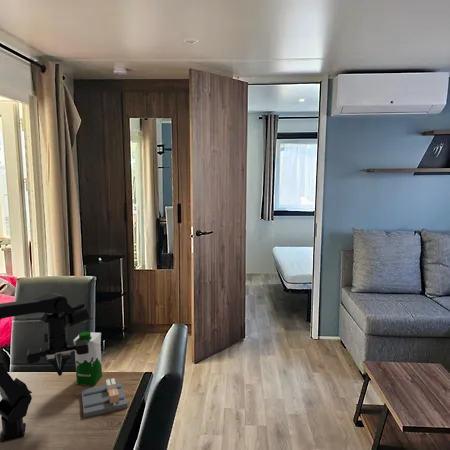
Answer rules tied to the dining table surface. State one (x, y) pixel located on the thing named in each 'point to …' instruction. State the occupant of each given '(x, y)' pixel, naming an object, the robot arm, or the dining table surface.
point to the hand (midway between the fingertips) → (60, 375)
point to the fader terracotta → (113, 396)
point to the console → (101, 400)
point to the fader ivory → (110, 384)
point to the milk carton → (89, 359)
